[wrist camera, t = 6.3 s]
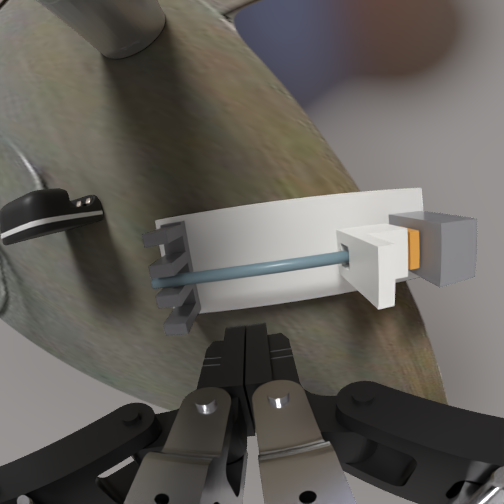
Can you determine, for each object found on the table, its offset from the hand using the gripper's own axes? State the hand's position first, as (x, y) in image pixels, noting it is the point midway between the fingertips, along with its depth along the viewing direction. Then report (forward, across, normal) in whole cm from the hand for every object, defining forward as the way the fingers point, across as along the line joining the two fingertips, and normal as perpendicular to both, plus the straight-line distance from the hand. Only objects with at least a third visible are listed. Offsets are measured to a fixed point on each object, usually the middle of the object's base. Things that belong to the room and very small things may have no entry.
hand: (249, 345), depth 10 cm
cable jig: (+18, -5, +1) cm, 18 cm away
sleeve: (+14, -10, +1) cm, 17 cm away
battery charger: (+18, +19, -8) cm, 27 cm away
